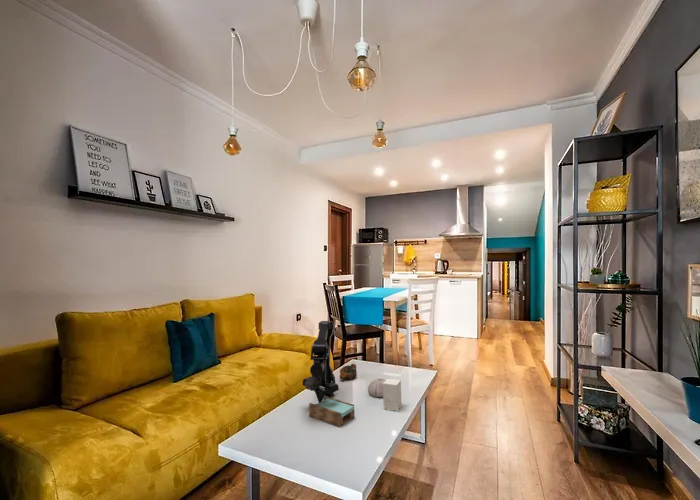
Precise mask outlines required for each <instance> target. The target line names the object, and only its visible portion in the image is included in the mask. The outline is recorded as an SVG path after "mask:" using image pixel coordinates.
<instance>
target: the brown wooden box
mask: <svg viewBox="0 0 700 500" xmlns="http://www.w3.org/2000/svg"><path fill="white" fill-rule="evenodd" d="M327 398H328V399H331V400H335V401H338V402H341V403H344V404H348V405H351V406H354V407H355V404H353V403H349V402H346V401H344V400H339V399H336V398H332V397H327V396H324V398H323V400H325V399H327ZM315 404H316V403H312V402H310V403H309V404H308V406H309V407H308V410H309V412H308V413H309V414H308V415H309V416H308V417H310V418H312V419H315V420H318V421H322V422H323V423H326V424H330V425H332V426H335V427H336V428H337V427H338V428H341V427H343V426H344V425H345V424H347V423H349V422H350V421H352V420H353V419H355V409H354V410H353V411H352V412H350V413H349V414H347V415H345V416H344V417H340V413H339V412H336V411H333V410H330V409H327V408H324V407H321V406H318V405H315Z"/></svg>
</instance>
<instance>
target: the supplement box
mask: <svg viewBox="0 0 700 500" xmlns="http://www.w3.org/2000/svg"><path fill="white" fill-rule="evenodd" d="M385 380H386V381H385V382H384V383H383V397H382V400H383V403H382V404H383V410H385V409H389V410H388V411H391V410H395V411H394V412H397V411H398V412H399V410H400V409H401V407H402V406H401V405H402V382H401V379H394V378H393V379H392V378H387V379H385ZM399 408H400V409H399Z"/></svg>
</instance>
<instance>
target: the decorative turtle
mask: <svg viewBox="0 0 700 500" xmlns="http://www.w3.org/2000/svg"><path fill="white" fill-rule="evenodd" d="M357 374H358V372H357V364H356V363H351V364H350V365H345V366H343V367H342V368H341V369H339V378H340V380H343V379H344V378H345V379H346V378H348V380H349V381H352V379H356V378H355V377H357ZM345 379H344V380H345Z"/></svg>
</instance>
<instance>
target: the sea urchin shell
mask: <svg viewBox="0 0 700 500" xmlns="http://www.w3.org/2000/svg"><path fill="white" fill-rule="evenodd" d="M385 381H386V379H384V378H376V379H373V380H372V381H371V382H369V384H368V387H367V391H368V394H369V395H370V396H371V395H372V397H375V398H383V383H384V382H385Z"/></svg>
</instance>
